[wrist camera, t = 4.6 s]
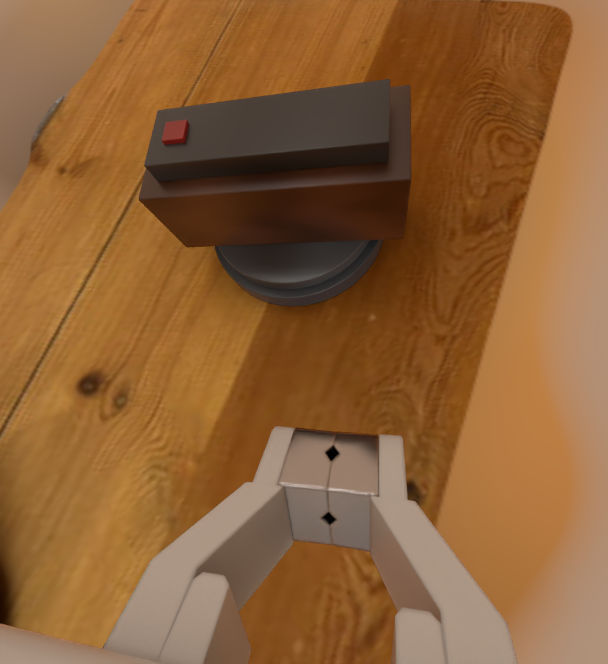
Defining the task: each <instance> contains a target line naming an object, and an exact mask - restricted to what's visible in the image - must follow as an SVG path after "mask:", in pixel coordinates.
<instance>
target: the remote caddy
mask: <svg viewBox="0 0 608 664" xmlns="http://www.w3.org/2000/svg"><path fill="white" fill-rule="evenodd" d="M144 166H145V167H146V171H145V175H144V179H143V183H142V187H141V191H140V195H139V201H140V202H142V203H143V204H144V205H145V206H146V207H147V208H148V209H149V210H150V211H151V212H152V213H153V214H154V215H155V216H156V217H157V218H158V219H159V220H160V221H161V222H162V223H163V224H164V225H165V226H166V227H167V228H168V229H169V230H170V231H171V232H172V233H173V234H174V235H175V236H176V237H177V238H178V239H179V240H180V241H181V242H182V243H183V244H184V245H185V246H186V247H207V246H218V248H219V250H220V251H221V253H222V255H223V256H224V258H225V259H226V260H227V261H228V263H229V264H230V265H231V266H232V267H233V268H234V269H235V270H236V271H237V272H238V273H239V274H240V275H241V276H243V277H244V278H246V279H247V280H249V281H251V282H253V283H255V284H258V285H261V286H264V287H268V288H273V289H284V290H290V289H300V288H306V287H310V286H313V285H316V284H320V283H322V282H324V281H326V280H329V279H331V278H333V277H334V276H336V275H337V274H339V273H341V272H342V271H343V270H345V269H346V268H347V267H348V266H350V265H351V264H352V263H353V262H354V261H355V260H356V259H357V258H358V257H359V255H360V254H361V253H362V252H363V250H364V249H365V248H366V246H367V244H368V242H369V241H370V240H385V239H403V238H404V232H405V224H406V216H407V209H408V201H409V193H410V185H411V95H410V85H405V86H397V87H390V79H386V80H378V81H371V82H364V83H356V84H349V85H342V86H334V87H327V88H320V89H312V90H305V91H298V92H290V93H283V94H275V95H268V96H261V97H253V98H246V99H239V100H231V101H224V102H217V103H209V104H202V105H195V106H187V107H180V108H173V109H165V110H158V112H157V116H156V120H155V124H154V128H153V132H152V136H151V140H150V144H149V148H148V152H147V156H146V160H145V164H144Z"/></svg>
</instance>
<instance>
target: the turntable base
mask: <svg viewBox="0 0 608 664" xmlns="http://www.w3.org/2000/svg"><path fill="white" fill-rule="evenodd" d="M382 243H383V240H370V241H369V242H368V244H367V246H366V248H365V249H364V250H363V252H362V253H361V254H360V255H359V257H358V258H357V259H356V260H355V261H354V262H353V263H352V264H351V265H350V266H348V267H347V268H346V269H345V270H343V271H342V272H341V273H339V274H337V275H336V276H334V277H333V278H331V279H329V280H326V281H324V282H322V283H320V284H316V285H313V286H310V287H306V288H300V289H290V290H284V289H273V288H268V287H264V286H261V285H258V284H255V283H253V282H251V281H249V280H247V279H246V278H244V277H243V276H241V275H240V274H239V273H238V272H237V271H236V270H235V269H234V268H233V267H232V266H231V265H230V264H229V263H228V261H227V260H226V259H225V258H224V256H223V255H222V253H221V251H220V250H219V248H218V246H215V250H216V253H217V256H218V258H219V260H220V262H221V264H222V266H223V267H224V269H225V270H226V271H227V273H228V274H229V275H230V276H231V277H232V279H233V280H234V281H235V282H236V283H237V284H238V285H239V286H240V287H241V288H242V289H243V290H245V291H246V292H247V293H249V294H250V295H252V296H254V297H256V298H258V299H260V300H262V301H265V302H268V303H271V304H276V305H281V306H304V305H309V304H315V303H318V302H321V301H325V300H327V299H330V298H332V297H334V296H336V295H338V294H340V293H342V292H343V291H345V290H347V289H348V288H349V287H351V286H352V285H353V284H354V283H356V282H357V281H358V280H359V279H360V278H361V277H362V276H363V275H364V274H365V273H366V272H367V270H368V269H369V268H370V267H371V265H372V264H373V262H374V260H375V259H376V257H377V255H378V253H379V251H380V248H381V246H382Z"/></svg>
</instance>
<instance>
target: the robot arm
mask: <svg viewBox="0 0 608 664" xmlns="http://www.w3.org/2000/svg"><path fill="white" fill-rule="evenodd" d="M293 540H295V541H303V542H312V543H320V544H329V545H335V546H341V547H346V548H352V549H358V550H363V551H369V552H370V555H371V557H372V559H373V561H374V563H375V565H376V567H377V569H378V571H379V574H380V576H381V578H382V580H383V582H384V584H385V586H386V588H387V590H388V592H389V595H390V597H391V599H392V601H393V603H394V605H395V607H396V609H397V611H398V613H397V614H396V615H395V624H394V636H393V647H392V659H391V664H518V662H517V658H516V654H515V651H514V647H513V643H512V639H511V635H510V631H509V628H508V624H507V622H506V621H505V620H504V619H503V617H502V616H501V614H500V613H499V612H498V610H497V609H496V608H495V607H494V605H493V604H492V603H491V601H490V600H489V599H488V597H487V596H486V595H485V593H484V592H483V591H482V589H481V588H480V587H479V585H478V584H477V583H476V581H475V580H474V579H473V578H472V576H471V575H470V573H469V572H468V571H467V569H466V568H465V567H464V565H463V564H462V563H461V561H460V560H459V559H458V558H457V556H456V555H455V554H454V552H453V551H452V549H451V548H450V547H449V546H448V544H447V543H446V542H445V540H444V539H443V538H442V536H441V535H440V534H439V532H438V531H437V530H436V528H435V527H434V526H433V524H432V523H431V522H430V520H429V519H428V518H427V516H426V515H425V514H424V512H423V511H422V510H421V508H420V507H419V506H418V504H417V503H416V502H415V501H410V500H408V499H407V486H406V472H405V459H404V446H403V438H402V436H396V435H381V434H366V433H351V432H333V431H323V430H314V429H304V428H290V427H281V426H276V427H275V428H274V429H273V430H272V432H271V435H270V437H269V440H268V443H267V445H266V448H265V451H264V453H263V456H262V459H261V461H260V464H259V467H258V469H257V472H256V475H255V477H254V480H253V482H246V483H244V484H243V485H242V486H241V487H239V488H238V489H237V490H236V491H235V492H233V493H232V494H231V495H230V496H229V497H227V498H226V499H225V500H224V501H222V502H221V503H220V504H219V505H218V506H216V507H215V508H214V509H213V510H211V511H210V512H209V513H208V514H207V515H205V516H204V517H203V518H202V519H200V520H199V521H198V522H197V523H196V524H194V525H193V526H192V527H191V528H189V529H188V530H187V531H186V532H185V533H183V534H182V535H181V536H180V537H178V538H177V539H176V540H175V541H174V542H172V543H171V544H170V545H169V546H167V547H166V548H165V549H164V550H163V551H161V552H160V553H159V554H158V555H156V556H155V557H154V558H153V559H152V560H151V561H150V563H149V565H148V566H147V568H146V570H145V572H144V574H143V575H142V577H141V579H140V581H139V583H138V585H137V586H136V588H135V590H134V592H133V594H132V595H131V597H130V599H129V601H128V603H127V605H126V606H125V608H124V610H123V612H122V614H121V615H120V617H119V619H118V621H117V623H116V625H115V626H114V628H113V630H112V632H111V634H110V635H109V637H108V639H107V641H106V643H105V645H104V646H103V648H98V647H94V646H90V645H86V644H82V643H78V642H74V641H70V640H65V639H61V638H57V637H53V636H49V635H45V634H41V633H37V632H33V631H29V630H24V629H20V628H16V627H12V626H8V625H4V624H0V664H248V661H249V657H250V653H251V646H250V643H249V640H248V637H247V634H246V632H245V629H244V626H243V623H242V620H241V617H240V614H239V611H240V610H241V608H242V607H243V606H244V605H245V603H246V602H247V601H248V600H249V598H250V597H251V596H252V594H253V593H254V592H255V591H256V589H257V588H258V587H259V586H260V584H261V583H262V582H263V581H264V579H265V578H266V577H267V576H268V574H269V573H270V572H271V571H272V569H273V568H274V567H275V566H276V564H277V563H278V562H279V561H280V559H281V558H282V557H283V555H284V554H285V553H286V552H287V550H288V549H289V548H290V547H291V545H292V544H293Z"/></svg>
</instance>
